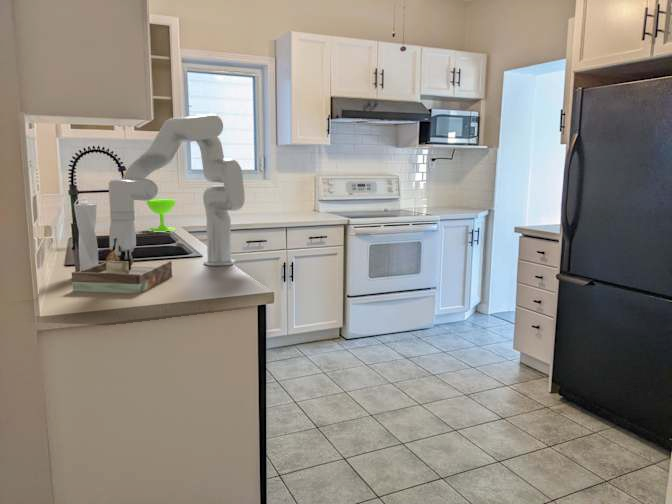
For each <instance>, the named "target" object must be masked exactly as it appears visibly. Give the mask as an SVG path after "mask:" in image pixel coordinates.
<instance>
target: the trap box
mask: <svg viewBox="0 0 672 504" xmlns="http://www.w3.org/2000/svg"><path fill="white" fill-rule="evenodd" d="M112 261H115V259H113V260H110V261H107V262H106V261H104V262H102V263H98V265H96V266H93V267H90V268H88V269H85V270H82V271H81V270H80V271H79V272H75V271H73V272H71V284H72V292H87V293H88V292H89V293H90V292H91V293H118V294H119V293H120V294H141V293H144V292H145V291H147V290H149V289H151V288H153V287H154V286H157V285H158V284H160V283H162V282H163V281H166V280H167V279H169V278H171V277H173V270H172V268H173V267H172V265H173V264H172V260H171V261H170V260H168V261H167V262H163V263H162V264H160V265H158V266H155V267H154V266H153V267H152V266H151V267H150V266H149V267H148V266H131V270H129V274H119V273H107V269H106V263H109V262H112Z"/></svg>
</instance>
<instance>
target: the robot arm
mask: <svg viewBox="0 0 672 504" xmlns="http://www.w3.org/2000/svg"><path fill="white" fill-rule="evenodd" d="M223 130H224V123H223V120H222V119H221V117H220V116H219V115H217V114H215V113H204V114H203V113H202V114H201V113H200V114H190V115H186V116H185V117H171V118H168V119H166V120H165V121H164V122H163V124H162V125H161V128H160V129H159V131H158V132H157V134H156V136H155V138H154V140H153V141H152V143H151V145H150V146H149V148H148V149H147V150H146V151H145V152H144V153H142V154H141V155H140V156H139V157H138V158H137V159H135V161H133V162H132V163H131V164H130V165H129V166H128V168H127V169H126V170H125V172H124V174H123V176H122V178H121V179H111V180H110V181H109V182H108V198H109V199H108V200H109V212H110V213H109V215H110V216H109V217H110V222H109V223H110V225H109V250H110V251H111V252H113V251H115V255H116V256H118V259H119V261H128V264H129V270H131V267H132V265H131V259H129V258H131V256H132V252H133V251H134V249H135V248H136V246H137V237H136V236H137V235H136V226H135V225H136V224H135V221H136V219H135V201H141V202H143V201H144V202H147V201H149V200H154V199H155V198H156V197H157V195H158V193H159V188H158V185H157V184H156V182H154V181H153V180H151V179H149V178H147V177H148V176H149V175H151V174H152V173H154V172H155V171H157V170H160V169H162V168H164V167H166V166H168V165H170V164H171V162H172V161H173V160H174V157H175V156H176V153H177V152H178V150H179V148H180V146H181V145H182V144H183V142H184V143H186V142H187V143H189V142H196V144H197V146H198V147H199V151H200V157H201V165H202V170H203V176H204V178H205V180H206V181H207V182H210V183H214V184H215V183H216V184H217V183H218V184H223V185H211V186H209V187H207V188H206V189H205V190H204V192H203V196H202V200H203V205H204V210H205V218H206V220H205V221H206V251H207V252H206V253H207V258H206V259H204V260H203V265H205V266H209V267H210V266H211V267H212V266H213V267H222V266H223V267H225V266H230V265H234V264H235V263H236V260H235V259H234V258H232V236H231V235H232V233H231V227H232V226H231V225H232V224H231V218H230V213H229V212H228V211H232V212H234V211H239V210H241V209H242V208H243V206H244V204H245V200H246V199H245V186H244V180H243V179H244V177H243V176H244V175H243V170H242V167H241V165H240V164H239V162H238V161H236V160H235V159H233V158H225V156H224V155H225V154H224V151H223V150H224V149H223V145H222V142H221V139H220V138H219V136H220V135H221V134H222V133H223ZM120 249H121V250H120Z"/></svg>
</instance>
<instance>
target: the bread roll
mask: <svg viewBox="0 0 672 504" xmlns="http://www.w3.org/2000/svg"><path fill="white" fill-rule="evenodd" d="M120 250H121V249H120ZM113 259H115V261H119V259H118V256H116V255H115V251H111V252H110V253H109V254H108V255H107V256H106V258H105V262H107V261H110V260H113ZM129 259H131V266H132V265H133V264H134V259H133V255H131V258H129Z"/></svg>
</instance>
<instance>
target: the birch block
mask: <svg viewBox="0 0 672 504" xmlns="http://www.w3.org/2000/svg"><path fill="white" fill-rule="evenodd" d="M106 269H107V273H119V274H129V264H128V261H112V262H109V263H106Z"/></svg>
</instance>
